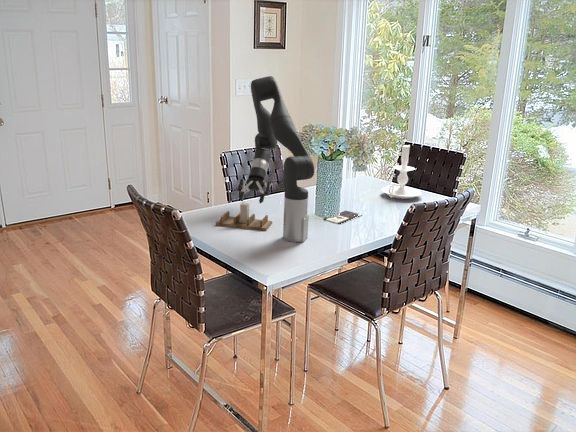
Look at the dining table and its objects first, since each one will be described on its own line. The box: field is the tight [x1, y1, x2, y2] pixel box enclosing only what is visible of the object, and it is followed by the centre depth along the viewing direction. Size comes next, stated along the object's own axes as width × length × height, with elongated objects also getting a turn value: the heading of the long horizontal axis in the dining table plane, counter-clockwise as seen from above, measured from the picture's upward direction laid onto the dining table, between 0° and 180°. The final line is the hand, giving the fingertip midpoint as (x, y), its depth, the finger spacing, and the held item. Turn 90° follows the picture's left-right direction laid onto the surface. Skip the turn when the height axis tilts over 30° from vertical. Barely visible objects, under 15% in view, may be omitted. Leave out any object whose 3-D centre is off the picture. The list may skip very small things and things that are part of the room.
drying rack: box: [215, 210, 273, 232], centre depth 224 cm, size 22×10×4 cm, turn 77°
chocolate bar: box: [323, 210, 359, 225], centre depth 239 cm, size 9×1×18 cm
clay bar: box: [239, 202, 250, 223], centre depth 223 cm, size 3×3×8 cm
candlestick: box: [381, 144, 422, 200], centre depth 272 cm, size 21×25×28 cm
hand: (250, 201), depth 232 cm, fingers open, 8 cm apart
